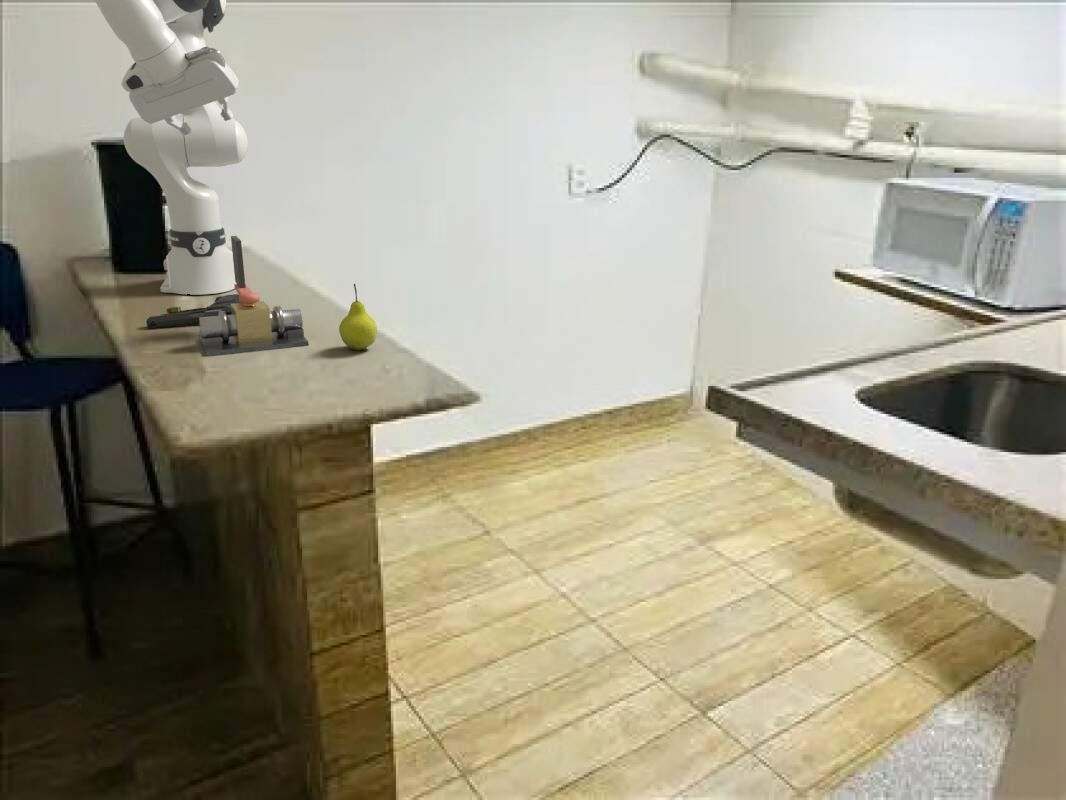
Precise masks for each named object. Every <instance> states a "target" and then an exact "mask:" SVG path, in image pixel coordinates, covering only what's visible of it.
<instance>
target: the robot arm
mask: <svg viewBox="0 0 1066 800" xmlns="http://www.w3.org/2000/svg"><path fill="white" fill-rule="evenodd" d="M94 2H95V4H96V6H97V7H98V9H99V11H100V13H101V14H102V16H103V17H104V19H105V21H106V23H107V24H108V25H109V27H110V28H111V30H112V31H113V33H114V34H115V36H116V37H117V38H118V40H120V41H121V42H122V43H124V45H125V46H126V47H127V49H128V51H129V54H130V57H131V59H133V61H134V62H133V63H132V64H131V65H130V67H129V68H128V69H127V70H126V72H125V74H124V75H123V78H122V81H121V83H120V84H121V87H122V88H123V89H124V91H126V92H127V93H128V96H129V100H130V102H131V104H132V106H133V108H134V110H135V111H136V112H137V114H138V115H139V117H135V118H131V119H130V120H129V122H128V123H127V125H126V126H125V129H124V133H123V144H124V147H125V150H126V152H127V154H128V155H129V157H131V159H132V160H133V161H134V162H135V163H136V164H138V165H140V166H141V167H142V168H144V169H145V170H146V171H147V172H149V173H150V174H151V175H152V176H153V177H154V178H155V180H156V181H157V182H158V184H159V185H160V188H161V190H162V191H163V194H164V197H165V200H166V205H167V210H168V216H169V222H170V229H169V239H170V240H169V241H170V245H171V246H172V247H171V249H170V250H169V252H168V253H167V255H166V256H165V257H166V258H165V259H163V268H164V271H166V272H165V279H164V281H163V282H162V284H161V286H160V288H159V289H160V293H169V294H178V295H187V294H190V296H191V295H193V296H194V295H195V296H196V295H201V296H202V295H212V294H221V293H225V292H230V291H232V290H235V286H234V284H237V283H236V282H235V273H234V263H233V253H232V249H229V247H227V246H226V242H227V241H226V236H227V235H226V232H225V228H224V227H223V224H222V215H221V214H222V213H221V204H220V197H219V194H218V193H217V192H216V191H215V190H214V188H212V187H210V186H209V185H207V184H205V183H203V182H202V181H201V182H200V181H199V180H197V179H194V178H193V177H191V176H190V174H189V171H188V170H187V169H188V168H190V167H196V168H197V167H198V168H199V167H207V168H208V167H209V168H210V167H226V166H229V165H231V166H232V165H236V164H239V163H242V161H243V159H244V158H245V157H246V155H247V152H248V148H249V141H248V140H249V139H248V135H247V132H246V130H245V128H244V127H243V126H242V124H241V123H240V122H239V121H238V120H236V119H235V118H234V113H233V112H232V110H231V108H230V97H231V96H233V95H235V94H236V93H237V91H238V89H239V85H240V81H239V79H238V77H237V75H236V74H235V73H234V70H232V69H231V67H230V66H229V64H227V63H226V61H225V58H224V56H223V55H222V53H221V52H220V51H219V50H218V49H216V48H213V47H209V46H207V43H206V41H205V40H206V39H205V36H204V30H206V29H207V31H208V33H213V32H214V28H215V27H217V26H218V25H219V24H220V23H221V22H222V20H223V18H224V16H225V12H226V8H227V0H94ZM216 101H217V102H218V103H219V105H222V106H223V107H222V108H220V106H219V105H218V103H217V102H216Z"/></svg>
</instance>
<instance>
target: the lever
mask: <svg viewBox="0 0 1066 800" xmlns="http://www.w3.org/2000/svg"><path fill="white" fill-rule="evenodd" d="M230 241H231V251H232V253H233V263H234V273H235V282H236V283H237V284H234V286H235V289H234V290H235V291H236V293H237V294H239V302H240V303H246V304H249V303H257V302H259V301H261V300H260V294H259V293H257V292H253V291H252V290H251V289H250V288H249V287H248V286H247V284H246V279H245V269H244V268H245V267H244V257H243V247H242V245H243V244H242V240H241V239H240V238H239V237H238V236H237V235H230Z"/></svg>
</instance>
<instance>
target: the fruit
mask: <svg viewBox="0 0 1066 800" xmlns="http://www.w3.org/2000/svg"><path fill="white" fill-rule="evenodd" d="M353 288H354V292H355V301H352V303H351V304H350V308H349V311H348V314H347V315H346V316H345V317H344V318H343V319H342V320H341V322H340V324H339V326H338V331H339V335H340V338H341V340H342V342H343V344H345V345H346V346H347V347H348V348H350V349H351V350H353V351H354V350H355V351H362V349H363V350H365V349H367V348H368V347H370V346H372V345H373V344H374V343H375V341H376V339H377V332H378V327H377V323H376V321H375V319H373V318H372V316H370V314H368V313H367V311H366V309H365V305H364V304H363V303H362V302H361V301H358V295H357V294H358V293H357V292H358V291H357V287H356V283H353Z"/></svg>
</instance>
